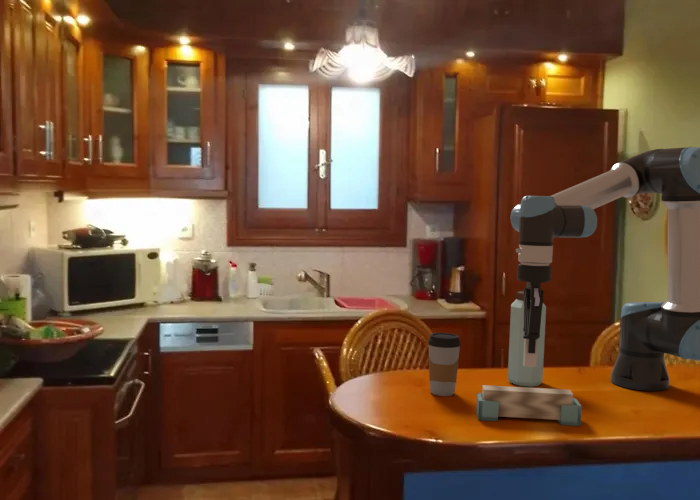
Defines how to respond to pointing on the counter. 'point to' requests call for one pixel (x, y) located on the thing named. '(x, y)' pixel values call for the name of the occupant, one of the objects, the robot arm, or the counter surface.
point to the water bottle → (516, 347)
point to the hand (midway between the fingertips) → (529, 365)
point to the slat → (528, 401)
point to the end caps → (490, 408)
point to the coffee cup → (443, 363)
